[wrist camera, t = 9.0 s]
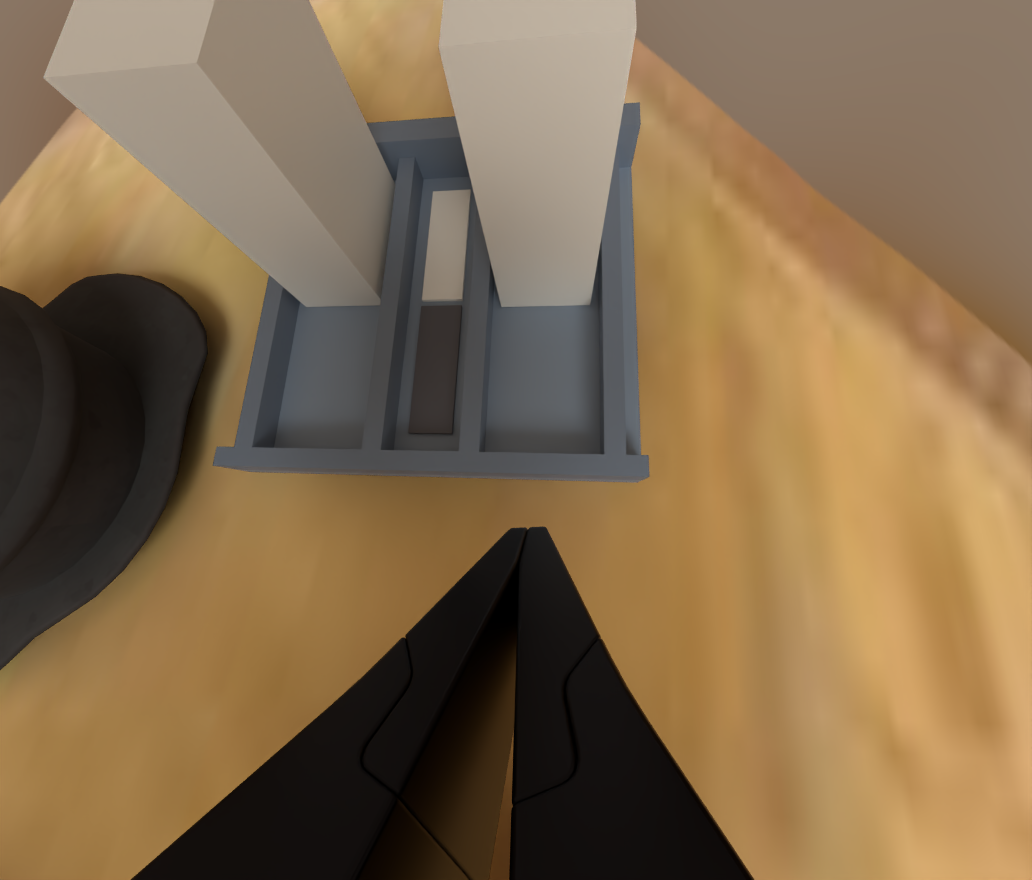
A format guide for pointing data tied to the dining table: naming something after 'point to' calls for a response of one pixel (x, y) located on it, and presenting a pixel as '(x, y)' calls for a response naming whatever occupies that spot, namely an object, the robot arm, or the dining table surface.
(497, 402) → the divided tray
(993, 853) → the dining table surface
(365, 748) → the robot arm
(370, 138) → the beige box
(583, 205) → the light grey rectangular block
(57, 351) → the casserole
